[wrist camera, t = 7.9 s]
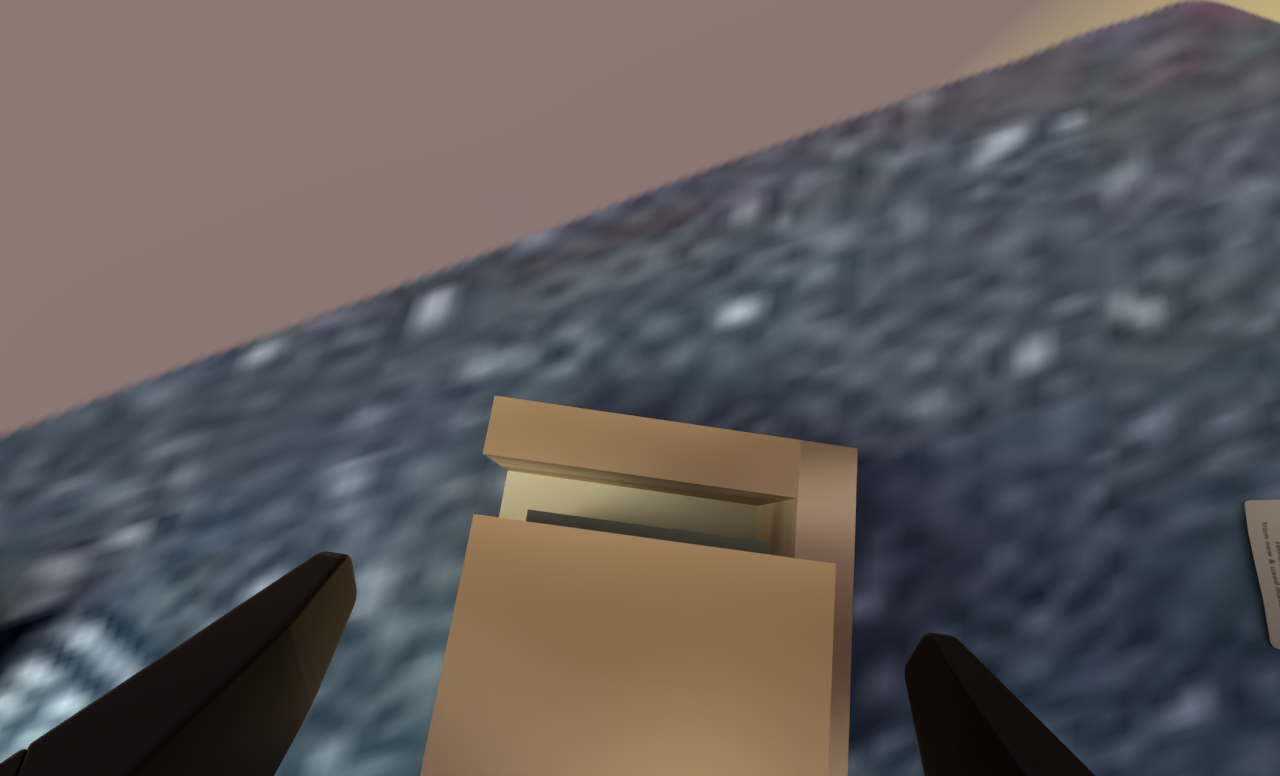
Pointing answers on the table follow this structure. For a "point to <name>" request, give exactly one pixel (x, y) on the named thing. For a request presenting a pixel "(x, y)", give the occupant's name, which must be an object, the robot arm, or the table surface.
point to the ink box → (1267, 557)
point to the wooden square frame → (691, 494)
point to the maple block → (632, 655)
